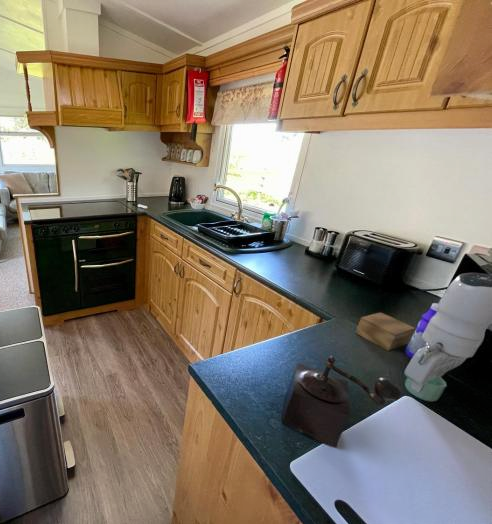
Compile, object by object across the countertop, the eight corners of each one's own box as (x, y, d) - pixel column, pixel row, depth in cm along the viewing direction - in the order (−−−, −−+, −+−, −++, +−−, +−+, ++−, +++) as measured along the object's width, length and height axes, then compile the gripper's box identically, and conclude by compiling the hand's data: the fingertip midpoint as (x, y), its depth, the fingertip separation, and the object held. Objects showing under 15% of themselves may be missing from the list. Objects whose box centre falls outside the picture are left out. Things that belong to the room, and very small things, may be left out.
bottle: (405, 346, 91) (429, 298, 85) (429, 356, 88) (456, 306, 81) (402, 356, 87) (428, 306, 80) (428, 367, 83) (456, 315, 77)
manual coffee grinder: (279, 425, 61) (303, 357, 55) (285, 391, 70) (306, 329, 64) (368, 467, 54) (407, 395, 47) (362, 424, 63) (394, 358, 56)
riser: (407, 343, 93) (415, 328, 91) (388, 350, 89) (395, 334, 87) (374, 326, 102) (380, 312, 99) (355, 332, 97) (361, 317, 95)
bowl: (442, 398, 72) (451, 382, 70) (429, 405, 69) (438, 390, 67) (412, 380, 77) (419, 365, 75) (398, 386, 75) (406, 371, 73)
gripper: (445, 358, 61) (417, 406, 66) (486, 338, 69) (459, 383, 74) (409, 340, 66) (386, 386, 71) (452, 324, 74) (428, 367, 79)
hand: (424, 384), depth 72 cm, fingers closed on bowl, 6 cm apart
